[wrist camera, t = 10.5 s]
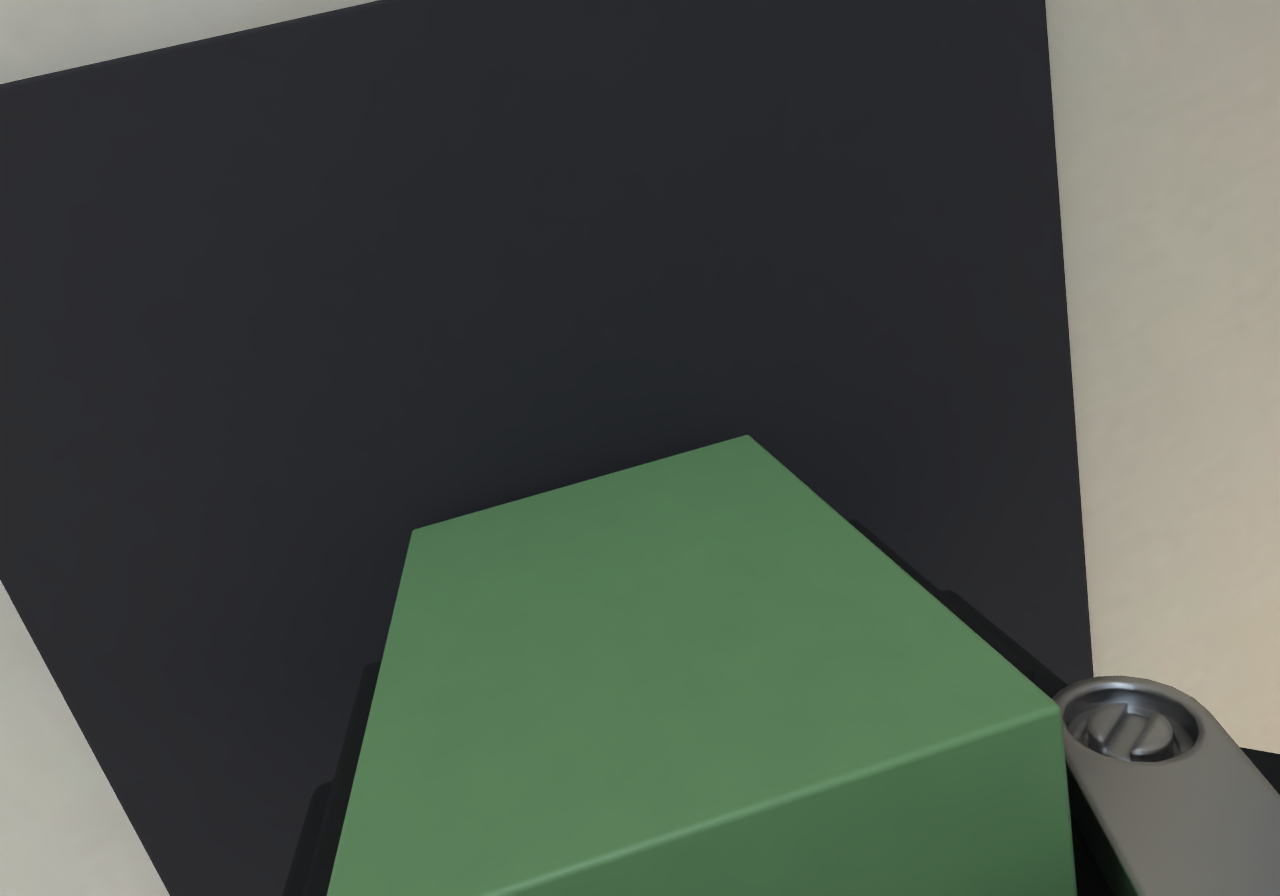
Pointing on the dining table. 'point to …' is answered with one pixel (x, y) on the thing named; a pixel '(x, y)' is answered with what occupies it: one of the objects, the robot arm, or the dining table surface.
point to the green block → (693, 708)
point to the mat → (500, 338)
